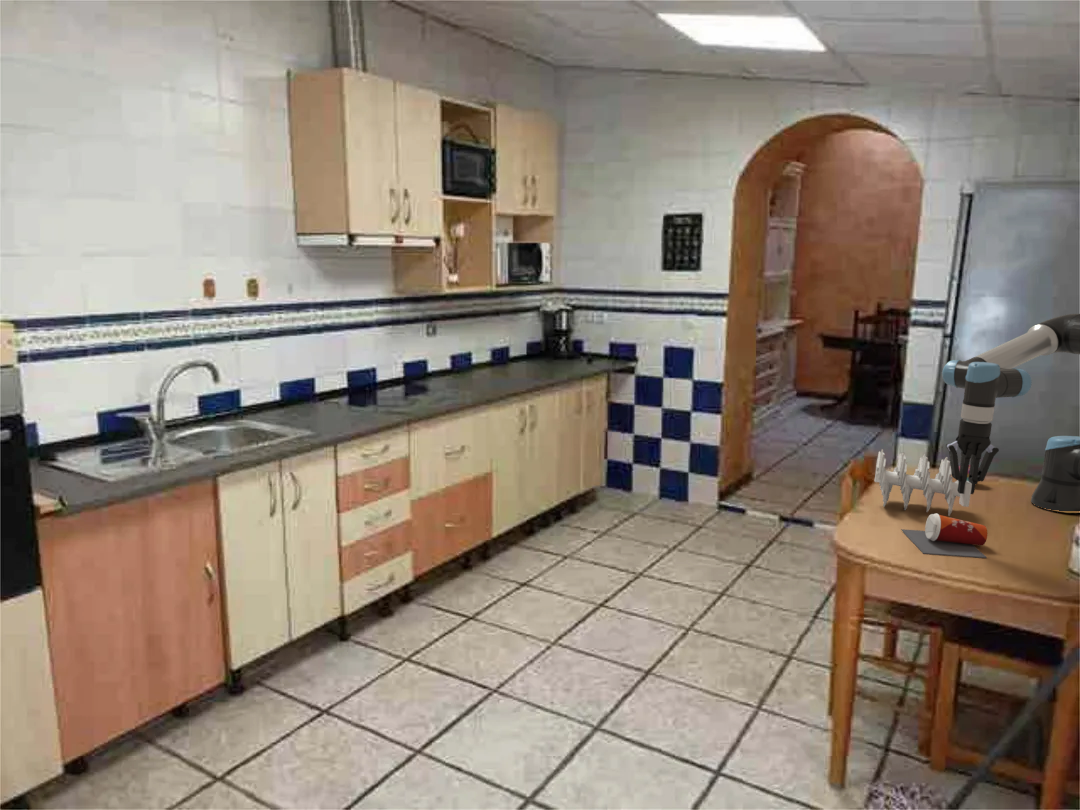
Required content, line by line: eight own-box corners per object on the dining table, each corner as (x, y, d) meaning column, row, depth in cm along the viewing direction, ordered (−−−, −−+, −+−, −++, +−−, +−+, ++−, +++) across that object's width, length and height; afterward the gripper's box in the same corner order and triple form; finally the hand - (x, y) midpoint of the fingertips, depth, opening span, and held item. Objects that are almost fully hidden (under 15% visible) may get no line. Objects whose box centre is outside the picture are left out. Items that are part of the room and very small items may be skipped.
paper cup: (991, 524, 215) (937, 515, 216) (986, 552, 215) (932, 543, 217) (979, 519, 222) (927, 510, 224) (973, 545, 223) (922, 536, 225)
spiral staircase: (957, 532, 242) (868, 515, 251) (957, 493, 255) (873, 478, 264) (970, 487, 231) (878, 471, 240) (970, 449, 244) (882, 435, 253)
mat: (959, 534, 228) (959, 533, 228) (986, 558, 211) (986, 557, 211) (900, 530, 230) (901, 529, 230) (923, 553, 212) (923, 552, 212)
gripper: (995, 418, 216) (982, 502, 221) (945, 416, 217) (933, 499, 222) (1008, 424, 209) (995, 511, 213) (956, 422, 210) (944, 507, 215)
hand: (963, 504), depth 218 cm, fingers closed
